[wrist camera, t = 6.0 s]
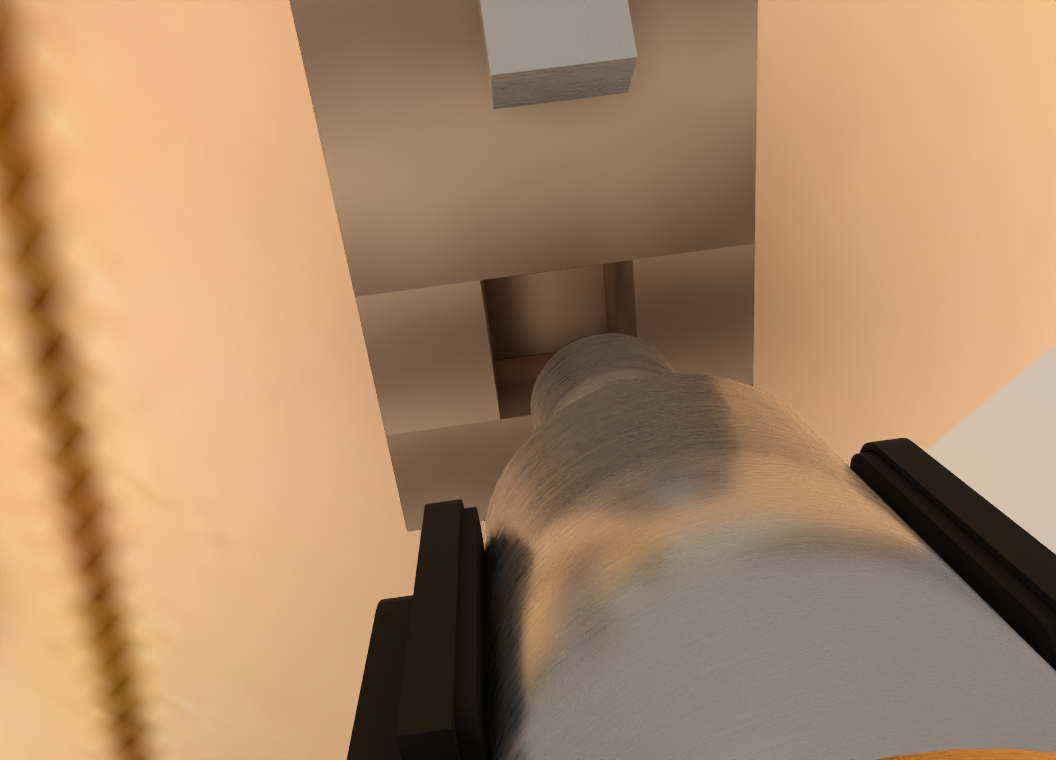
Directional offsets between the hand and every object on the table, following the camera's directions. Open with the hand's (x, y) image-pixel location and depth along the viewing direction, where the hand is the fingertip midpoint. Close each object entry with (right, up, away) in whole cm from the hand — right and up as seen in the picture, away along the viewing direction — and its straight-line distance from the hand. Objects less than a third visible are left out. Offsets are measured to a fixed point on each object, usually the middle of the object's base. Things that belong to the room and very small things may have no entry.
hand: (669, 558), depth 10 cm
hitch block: (-2, +11, +14) cm, 17 cm away
